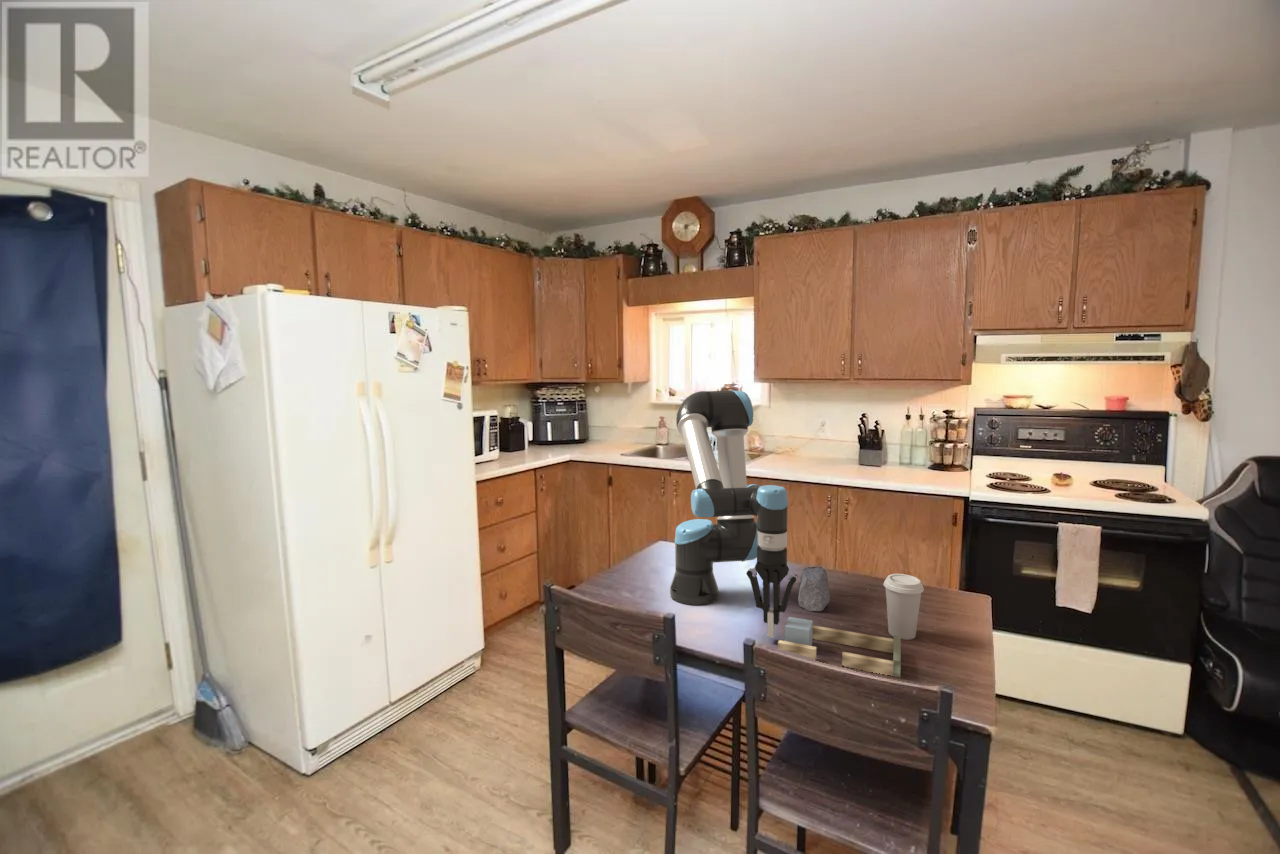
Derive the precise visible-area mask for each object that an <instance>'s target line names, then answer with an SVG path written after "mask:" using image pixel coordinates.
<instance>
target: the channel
mask: <svg viewBox="0 0 1280 854" xmlns="http://www.w3.org/2000/svg"><path fill="white" fill-rule="evenodd" d="M812 640H816V641H823V642H828V643H834V644H839V645H845V646H851V647H856V648H863V649H868V650H872V651H879V652H884V653H889V654H890V653H891V654H893V655H892V660H889V659H884V658H880V657H879V658H878V657H873V656H867V655H863V654H858V653H857V654H856V653H851V652H846V651H842V654H841V655H842V656H841V666H842V665H844V666H849V667H852V668H855V669H854V670H856V669H857V671H861V670H863V671H862V672H867V673H871V672H873V674H876V673H877V674H876V675H882V674H885V675H884V676H887V675H891V676H890V677H892V675H893V676H896V677H895V678H897V677H900V678H901V664H902V663H901V662H902V660H901V659H902V658H901V657H902V655H901V654H902V653H901V652H902V651H901V648H902V647H901V645H902V644H901V643H902V642H901V639H900V636H896V635H894V637H893V638H890V637H883V636H878V635H872V634H866V633H861V632H854V631H848V630H843V629H837V628H833V627H832V628H830V627H824V626H819V625H814V624H813V634H812ZM778 649H781V650H785V651H789V652H793V653H796V654H799V655H803V656H807V657H810V658H813V659H816V660H817V649H818V647H817V646H813V645H811V646H809V645H804V644H798V643H793V642H787V641H785V640H781V639H778V641H777V650H778ZM879 673H880V674H879Z"/></svg>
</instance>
